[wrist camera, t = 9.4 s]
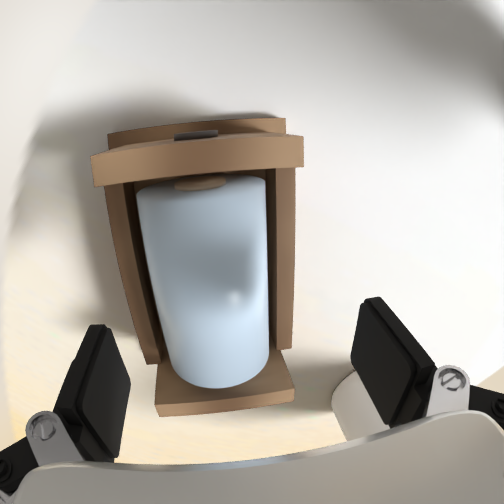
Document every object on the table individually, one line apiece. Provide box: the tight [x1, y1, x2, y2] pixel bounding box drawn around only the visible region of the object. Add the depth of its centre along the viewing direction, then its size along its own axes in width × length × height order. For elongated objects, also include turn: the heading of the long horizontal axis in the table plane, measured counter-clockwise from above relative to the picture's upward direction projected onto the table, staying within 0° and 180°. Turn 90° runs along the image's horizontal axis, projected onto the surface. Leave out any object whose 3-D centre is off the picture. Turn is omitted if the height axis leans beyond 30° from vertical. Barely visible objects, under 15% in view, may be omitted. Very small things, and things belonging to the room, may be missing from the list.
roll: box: [136, 174, 269, 388], centre depth 16 cm, size 10×6×6 cm, turn 2°
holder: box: [90, 118, 304, 417], centre depth 17 cm, size 10×16×7 cm, turn 2°
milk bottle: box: [331, 371, 390, 441], centre depth 19 cm, size 8×8×20 cm
